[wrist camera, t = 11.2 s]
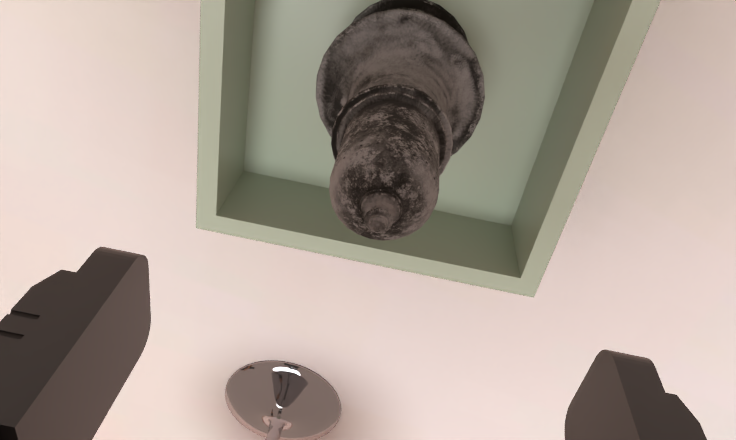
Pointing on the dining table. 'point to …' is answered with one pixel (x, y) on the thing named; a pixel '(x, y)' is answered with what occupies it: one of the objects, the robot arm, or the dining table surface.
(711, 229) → the dining table surface
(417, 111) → the salt shaker
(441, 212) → the caddy
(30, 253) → the dining table surface
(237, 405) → the wine glass
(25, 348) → the robot arm
